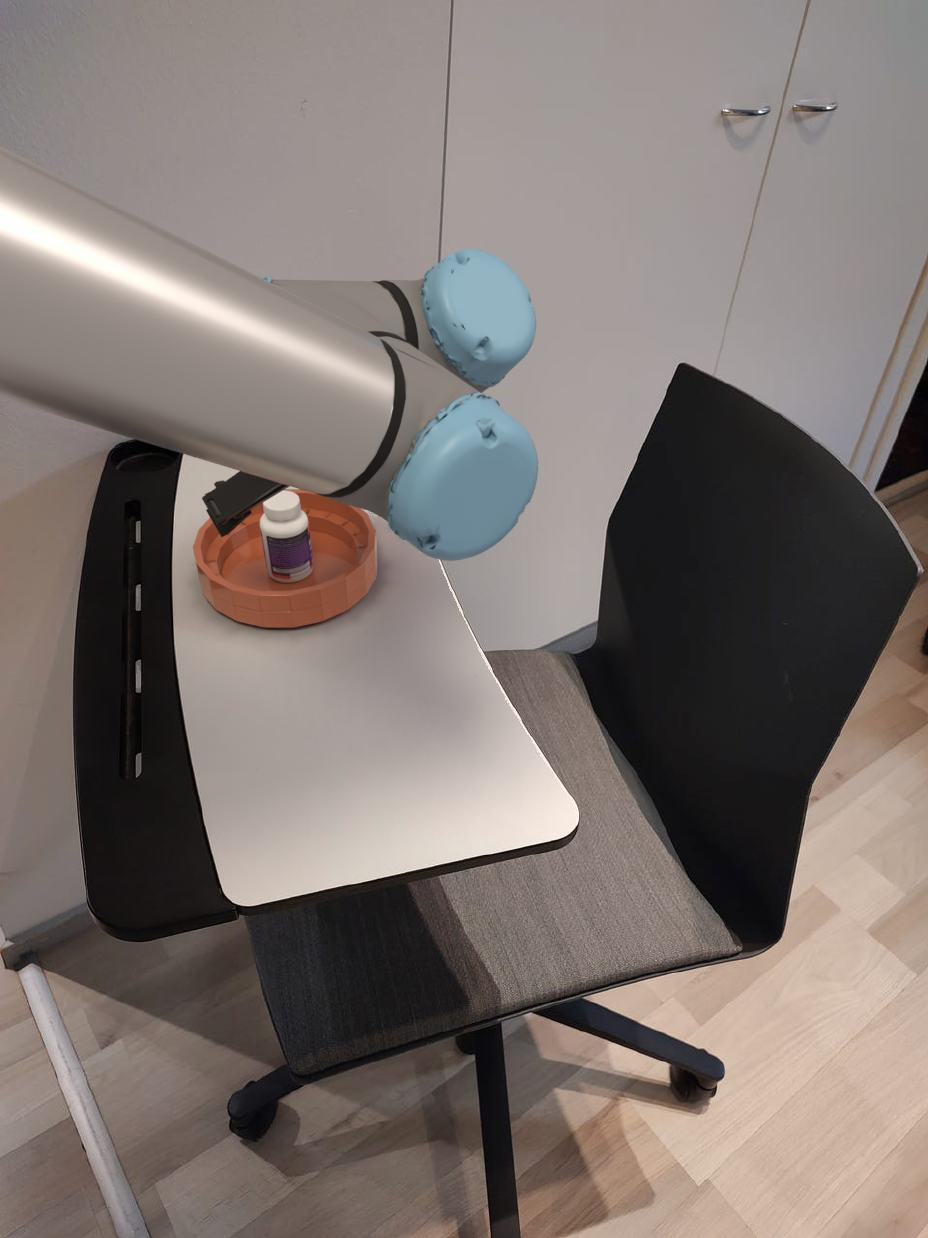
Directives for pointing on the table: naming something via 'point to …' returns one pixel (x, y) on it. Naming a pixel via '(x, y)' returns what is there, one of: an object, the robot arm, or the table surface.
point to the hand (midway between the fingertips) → (280, 493)
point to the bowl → (330, 589)
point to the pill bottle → (286, 538)
